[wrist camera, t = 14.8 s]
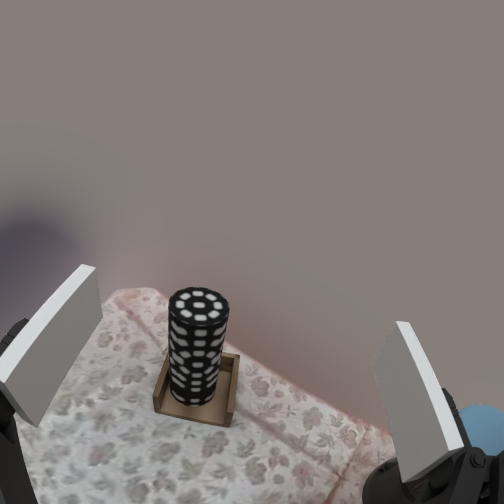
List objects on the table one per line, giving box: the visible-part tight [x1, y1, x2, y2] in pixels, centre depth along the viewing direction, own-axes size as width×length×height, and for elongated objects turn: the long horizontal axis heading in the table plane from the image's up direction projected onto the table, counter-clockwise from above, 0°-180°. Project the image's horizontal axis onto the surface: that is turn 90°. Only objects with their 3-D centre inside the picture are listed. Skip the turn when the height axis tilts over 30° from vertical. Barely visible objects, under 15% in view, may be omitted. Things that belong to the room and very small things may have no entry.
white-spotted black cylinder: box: [168, 287, 229, 407], centre depth 43 cm, size 8×8×20 cm
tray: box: [152, 351, 240, 427], centre depth 47 cm, size 13×13×6 cm
